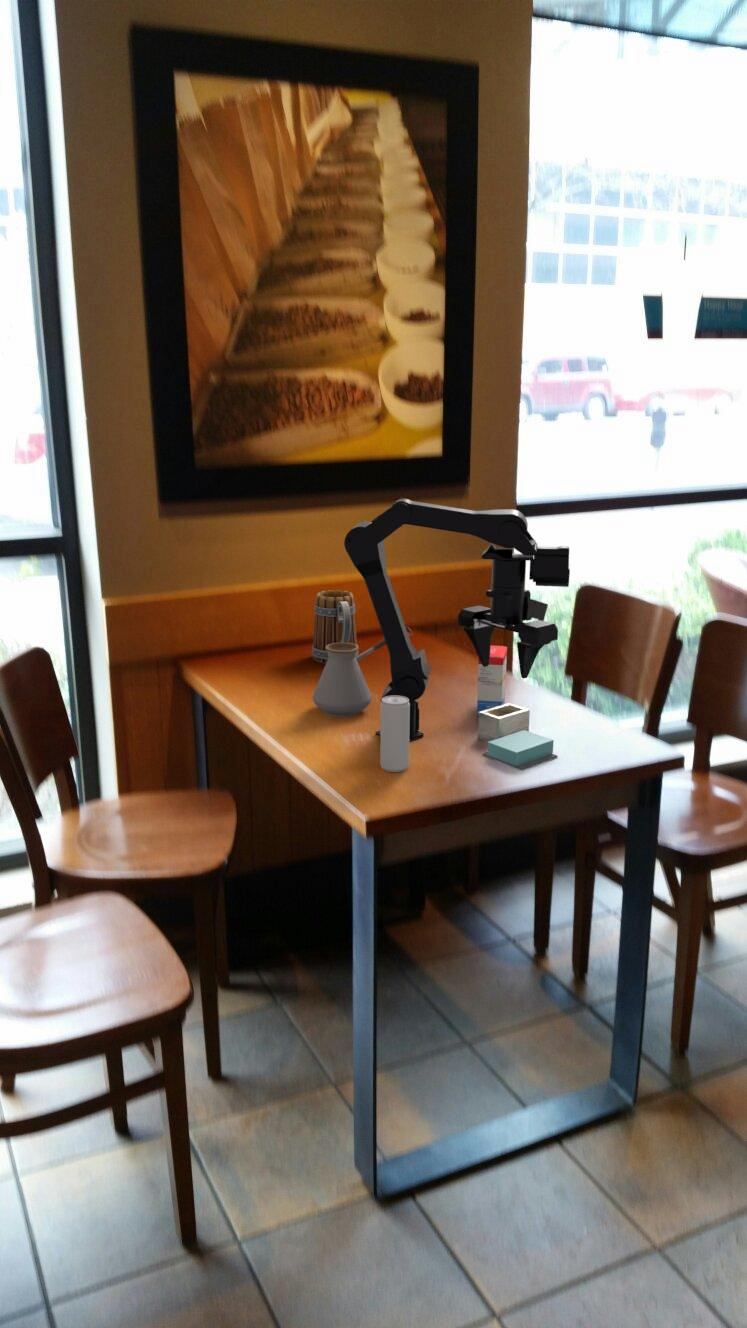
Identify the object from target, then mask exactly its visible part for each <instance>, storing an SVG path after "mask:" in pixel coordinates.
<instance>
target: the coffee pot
mask: <svg viewBox="0 0 747 1328" xmlns="http://www.w3.org/2000/svg"><path fill="white" fill-rule="evenodd" d="M405 627H406V630H407V633H408V636H409V637H410V636H413V635H414V633H413V631H412V629H411V628H410V627H409V626H408V625H407V626H405ZM408 630H409V631H410V632H411V634H410V633H409V632H408ZM384 646H387V644H386V642H385V639H384V638H383V639H381V640H379V642H378V643H376V644H374V645H373V646H372V647H370V648H369V649H367V650H365V651H363V652H362V653H360V654H358V656H356V651H357V650H358V651H359V649H360V647H359V645H358V644H357V645H356V644H352V643H332V644H329V645H327V646H326V647H325V649H326V650H327V651H328V655H329V658H328V660H327V663H326V664H324V665H325V666H324V668H323V670H322V672H321V675H320V677H319V680H318V683H316V684H317V685H316V687H315V690H314V692H313V694H312V701H313V702H314V705H315V706H316V707H317V708H318V709H319V710H321V711H322V713H323V714H325V715H327V716H331V717H336V718H337V717H339V718H345V717H353V716H358V715H359V714H361V713H362V712H363V710H365V709H366V708H367V707H368V706H369V705H370V703H371V702H372V698H373V695H372V693H371V690H370V689H369V686H368V683H367V680H366V679H365V677H364V674H363V672H362V669H361V667H360V665H359V661H360V660H363V659H364V658H365V657H367V656H368V655H369V654H371V653H373V652H375V651H377V650H378V649H381V648H382V647H384ZM355 656H356V657H355Z"/></svg>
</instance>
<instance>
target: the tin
mask: <svg viewBox="0 0 747 1328" xmlns="http://www.w3.org/2000/svg"><path fill="white" fill-rule="evenodd" d="M530 710H531V709H529V708H527V707H522V706H519V705H517V704H513V703H510V702H507V703H505V704H504V705H501V706H497V707H494V708H491V709H487V710H484V711H480V712H479V714H478V719H477V720H478V722H477V725H478V726H477V727H478V728H477V739H479V740H480V741H484V742H487V743H488V742H490V741H493V740H496V739H499V738H502V737H505V736H508V735H511V734H514V733H517V732H520V731H523V730H526V731H529V732H530V715H531V714H530V713H531V712H530Z"/></svg>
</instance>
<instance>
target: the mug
mask: <svg viewBox="0 0 747 1328" xmlns="http://www.w3.org/2000/svg"><path fill="white" fill-rule="evenodd" d="M313 610H314V612H313V613H314V621H313V622H314V624H313V625H314V626H313V639H312V641H313V642H312V645H311V655H312V659H313V661H315V662H317V663H319V664H323V665H326V663H327V660H328V658H329V655H328V651H327V650H326V649H325V647H326V646H327V645H329V644H332V643H352V644H356V645H358V642H357V629H356V619H355V618H356V617H355V613H356V604H355V601H354V595H353V593H352V592H349V591H348V590H343V591H342V590H335V591H334V590H332V589H331V590H329V589H328V590H327V591H326V590H322V591H320V592H317V593H316V596H315V602H314V609H313ZM358 655H359V649H358V650H357V651H356V656H358ZM356 656H355V657H356Z"/></svg>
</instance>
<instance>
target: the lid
mask: <svg viewBox="0 0 747 1328" xmlns="http://www.w3.org/2000/svg"><path fill="white" fill-rule="evenodd" d="M486 752H487V755H488V756H491V757H493V758H496V759H499V760H501V761H504V762H507V763H509V764H512V765H515V766H518V765H521V764H523V763H526V762H529V761H532V760H535V759H538V758H540V757H543V756H546V755H549V754H554V739H552V738H549V737H546V736H542V735H540V734H537V733H534V732H531V731H530V730H529V731H526V730H523V731H520V732H517V733H514V734H511V735H508V736H505V737H502V738H499V739H496V740H493V741H490V742H487V751H486Z"/></svg>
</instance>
